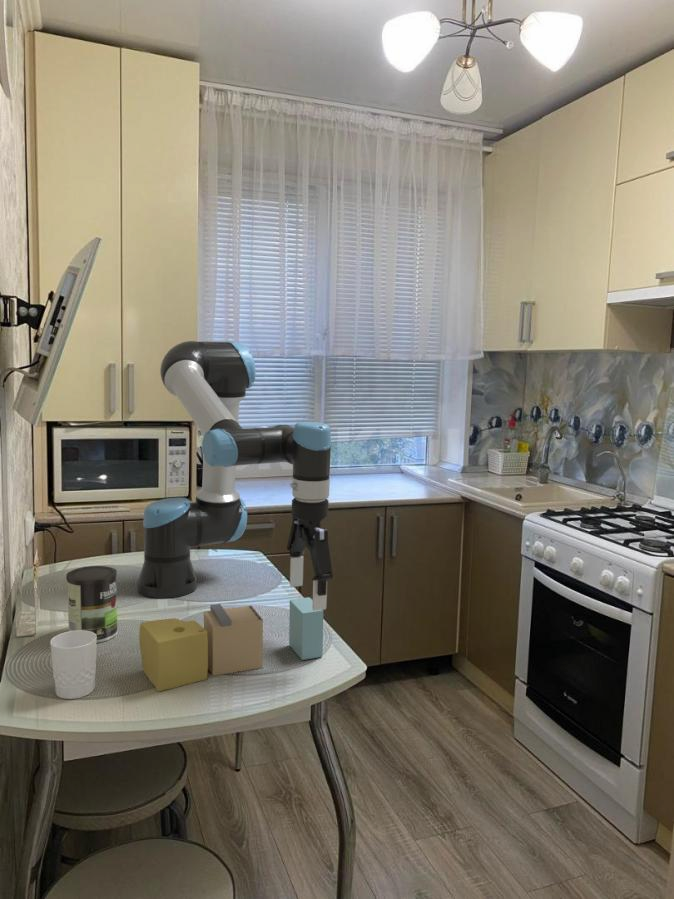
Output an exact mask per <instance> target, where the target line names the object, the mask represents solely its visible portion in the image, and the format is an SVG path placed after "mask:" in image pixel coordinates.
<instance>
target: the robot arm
mask: <svg viewBox="0 0 674 899" xmlns="http://www.w3.org/2000/svg"><path fill="white" fill-rule="evenodd" d="M159 371H160V377H161V381H162V384H163V385H164V387H165V389H166V390H167V391H168V392H169V393H170V394H171V395H173V396H174V397H177V398H178V400H179V401H180V403H181V404H182V406H183V407H184V408H185V410H186V412H187V413H188V415H189V416H190V418H191V419H192V421H193V422H194V424H195V425H196V426H197V428H198V429H199V431H200V432H201V434H202V435H203V436H202V442H201V443H202V444H201V449H202V450H201V452H202V454H203V458H202V461H203V462H202V483H201V485H202V486H201V488H200V489H199V490H198V491H197V492H196V494H195V501H194V502H193V501H192V502H191V501H190V499H188V498H187V497H179V496H177V497H167V498H162V499H159V500H156V501H153V502H151V503H149V504H148V505H147V506H146V507H145V508H144V510H143V522H142V526H143V552H144V553H143V555H144V556H143V557H144V558H143V564H142V568H141V570H140V573H139V576H138V579H137V591H138V593H140V594H141V595H142V596H145V597H150V598H156V599H157V598H158V599H168V598H169V599H170V598H178V597H183V596H186V595H188V594H191V593H193V592H195V590H196V589H197V588H198V579H197V575H196V572H195V569H194V565H193V563H192V560H191V548H194V547H200V546H201V547H202V546H208V545H216V544H226V543H230V542H234V541H237V540H238V539H240V538H241V537H242V536H243V534H244V532H245V530H246V528H247V523H248V512H247V506H246V503H245V501H244V499H242V498H241V494H240V493H239V492H238V491H237V490H236V488H235V486H236V472H237V471H236V468H237V466H246V465H261V464H274V463H288V464H291V465H292V482H291V483H290V488H291V489H292V496H293V499H291V516H292V523H291V527H290V532H289V536H288V541H287V544H286V550H287V552H289V556H290V563H289V564H290V565H289V566H290V568H289V571H290V572H289V586H290V587H291V588H295V587H302V586H303V583H304V560H305V559H304V558H305V557H304V556H305V548H306V549H308V550H309V555H310V558H311V559H310V560H311V563H312V567H313V572H314V575H315V576H313V577H312V581H313V582H312V600H313V606H312V609H313V610H314V611H315V610H323V611H324V610H327V604H328V603H327V602H328V601H327V599H328V580H333V578H334V575H333V569H332V561H331V555H330V554H331V553H330V548H329V539H328V538H329V534H328V532H329V531H328V528H322V525H321V524H322V523H321V522H322V521H323V520H325V519H327V518H328V516H329V505H330V504H329V502H330V501H329V500H328V498H329V497H330V481H331V480H330V479H331V478H330V475H331V474H330V473H331V472H330V470H331V455H332V454H331V452H332V451H331V450H332V440H331V434H332V433H331V428H330V426H329V424H327V423H324V422H318V421H299V422H297V423H295V425H294V426H292V425H288V424H273V425H271V426H269V427H246V428H243V426H241V424H240V423H239V413H240V410H239V409H240V402H241V401H242V400H243V399H245V398H246V393H247V389H250V388H252V387H253V386H254V383H255V382H256V377H257V376H256V375H257V370H256V363H255V360H254V356H253V354H252V352H251V349H249V347H248V346H247V345H245V344H243V343H240V342H233V341H196V340H187V341H184V342H181V343H178V344H175V345H174V346H173V347H172V348H170V349H169V350H168V352H167V353H166V354H165V356H164V357H163V359H162V361H161V363H160V370H159Z"/></svg>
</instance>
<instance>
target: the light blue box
mask: <svg viewBox="0 0 674 899" xmlns="http://www.w3.org/2000/svg"><path fill="white" fill-rule="evenodd" d="M312 606H313V598H311V597H309V596H307V597H300V598H294V599H290V600H289V617H288V618H289V626H288V628H289V629H288V630H289V633H288V635H289V637H288V645H289V646H290V647H291V649H292V650H293V651H294V652H295V654H297V656H298V657H299V658H300V660H302V661H304V660H310V659H311V660H312V659H316V658H322V657H323V651H324V650H323V648H324V647H323V646H324V645H323V643H324V641H323V640H324V639H323V638H324V609H323V610H315V611H314V610H313V609H312Z"/></svg>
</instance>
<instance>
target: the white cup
mask: <svg viewBox="0 0 674 899" xmlns="http://www.w3.org/2000/svg"><path fill="white" fill-rule="evenodd" d="M97 644H98V643H97V636H96V634H95V633H93V632H91V631H86V630H75V631H69V630H68V631H65V632H61V633H59V634H57V635H54V637H52V638H51V639H50V655H51V656H50V657H51V665H52V675H53V681H54V691H55V694H56V696H57V697H58V698H61V699H64V700H75V699H80V698H83V697H86V696H88V695H89V694H92V693H93V691H94V689H95V688H96V673H97Z"/></svg>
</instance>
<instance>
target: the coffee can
mask: <svg viewBox="0 0 674 899" xmlns="http://www.w3.org/2000/svg"><path fill="white" fill-rule="evenodd" d="M117 573H118V572H117V569H116V568H114V567H112V566H107V565H106V566H105V565H92V566H91V565H89V566H83V567H79V568H75V569H72V570H71V571H68V572H67V573H66V575H65V577H66V578H65V579H66V584H67V585H66V586H67V587H66V588H67V611H68V612H67V613H68V614H67V615H68V619H67V620H68V631H75V630H86V631H91V632H93V633H95V634H96V636H97V644H100V643H105V642H107V641H109V640H112V639H114V638H115V637H116V636H118V633H119V630H118V604H117V603H118V598H117V597H118V593H117V591H118V590H117V588H118V587H117V575H118V574H117Z"/></svg>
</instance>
